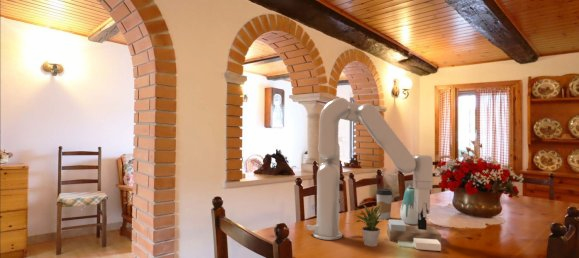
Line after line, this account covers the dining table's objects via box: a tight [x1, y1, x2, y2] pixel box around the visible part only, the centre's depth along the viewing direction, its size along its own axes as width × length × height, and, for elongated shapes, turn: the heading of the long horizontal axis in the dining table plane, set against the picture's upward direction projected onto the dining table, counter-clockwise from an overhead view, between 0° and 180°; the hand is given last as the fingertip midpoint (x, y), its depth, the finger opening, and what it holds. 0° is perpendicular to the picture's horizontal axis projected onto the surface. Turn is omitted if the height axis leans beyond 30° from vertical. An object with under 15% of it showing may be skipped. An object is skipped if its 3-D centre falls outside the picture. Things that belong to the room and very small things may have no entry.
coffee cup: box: [375, 188, 393, 220], centre depth 183 cm, size 8×8×15 cm
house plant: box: [352, 204, 384, 247], centre depth 140 cm, size 14×14×16 cm
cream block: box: [413, 238, 442, 252], centre depth 134 cm, size 9×6×2 cm, turn 79°
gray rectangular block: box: [388, 219, 407, 231], centre depth 149 cm, size 9×6×2 cm, turn 169°
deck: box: [386, 223, 442, 245], centre depth 147 cm, size 20×12×4 cm, turn 79°
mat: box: [396, 241, 416, 249], centre depth 138 cm, size 12×7×1 cm, turn 79°
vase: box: [399, 186, 418, 226], centre depth 173 cm, size 12×12×18 cm
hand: (422, 229), depth 143 cm, fingers closed
